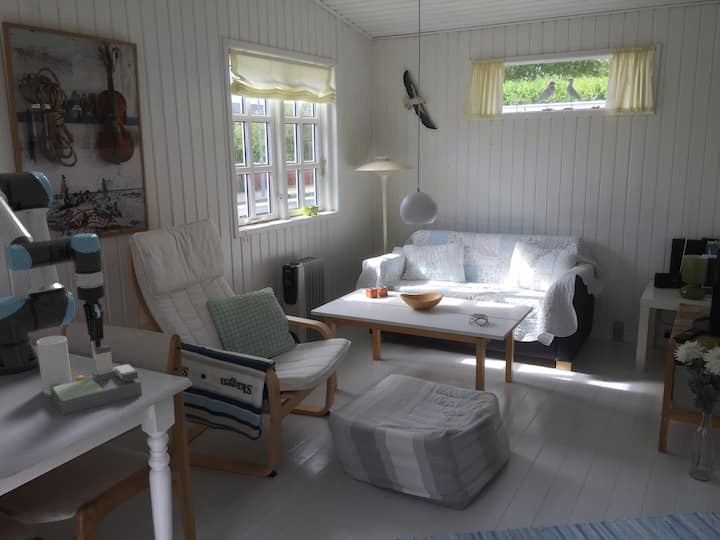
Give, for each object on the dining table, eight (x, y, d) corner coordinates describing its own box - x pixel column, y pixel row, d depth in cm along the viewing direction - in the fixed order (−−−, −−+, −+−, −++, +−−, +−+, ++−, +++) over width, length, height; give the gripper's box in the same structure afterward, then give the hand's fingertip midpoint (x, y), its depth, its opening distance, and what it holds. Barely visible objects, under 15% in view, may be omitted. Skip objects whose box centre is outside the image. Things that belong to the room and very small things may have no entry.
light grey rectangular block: (97, 372, 191) (94, 347, 189) (111, 369, 193) (108, 344, 192) (99, 374, 189) (96, 349, 188) (113, 371, 192) (110, 346, 190)
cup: (61, 395, 190) (54, 345, 186) (37, 393, 191) (30, 343, 188) (78, 384, 198) (72, 336, 194) (55, 383, 199) (48, 334, 196)
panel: (52, 398, 188) (49, 376, 186) (126, 379, 201) (124, 359, 200) (63, 414, 177) (60, 391, 176) (141, 394, 190) (139, 372, 189)
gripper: (71, 283, 193) (80, 356, 198) (82, 291, 183) (91, 368, 188) (96, 279, 198) (104, 350, 203) (109, 287, 188) (117, 362, 193)
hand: (98, 359), depth 196 cm, fingers closed
